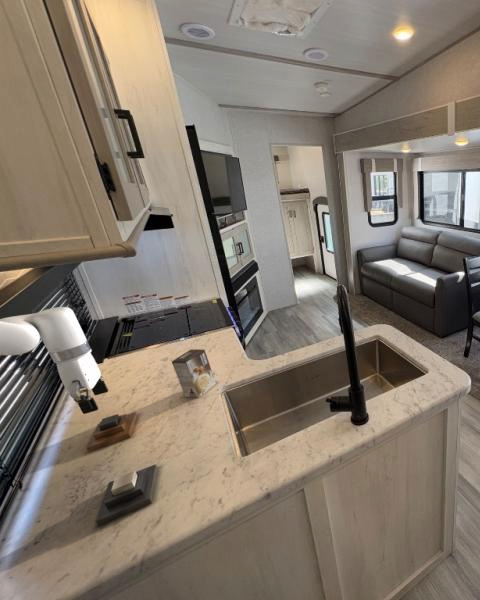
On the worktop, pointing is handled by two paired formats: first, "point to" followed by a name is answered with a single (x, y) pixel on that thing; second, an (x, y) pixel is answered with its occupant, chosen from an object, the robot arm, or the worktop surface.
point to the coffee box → (194, 372)
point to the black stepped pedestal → (128, 497)
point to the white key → (124, 483)
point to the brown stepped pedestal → (113, 432)
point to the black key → (109, 422)
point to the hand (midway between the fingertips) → (96, 402)
